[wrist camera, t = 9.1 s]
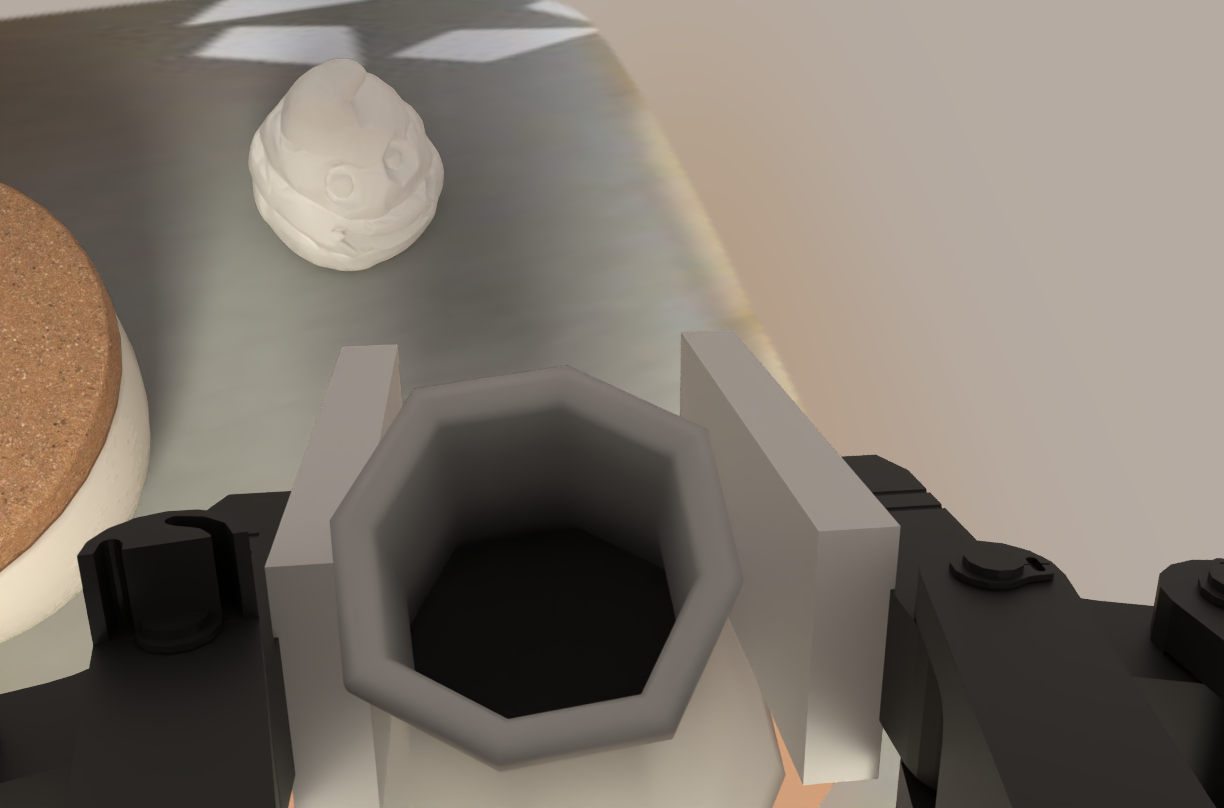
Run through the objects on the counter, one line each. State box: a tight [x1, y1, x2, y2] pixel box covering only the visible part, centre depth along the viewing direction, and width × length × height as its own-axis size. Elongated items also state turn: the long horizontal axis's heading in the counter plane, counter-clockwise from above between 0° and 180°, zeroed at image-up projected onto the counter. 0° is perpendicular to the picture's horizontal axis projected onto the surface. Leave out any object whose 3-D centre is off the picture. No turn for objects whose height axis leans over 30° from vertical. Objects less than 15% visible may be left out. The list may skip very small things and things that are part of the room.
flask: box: [330, 365, 786, 808], centre depth 13 cm, size 7×7×10 cm
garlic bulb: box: [248, 58, 444, 271], centre depth 31 cm, size 6×6×5 cm
